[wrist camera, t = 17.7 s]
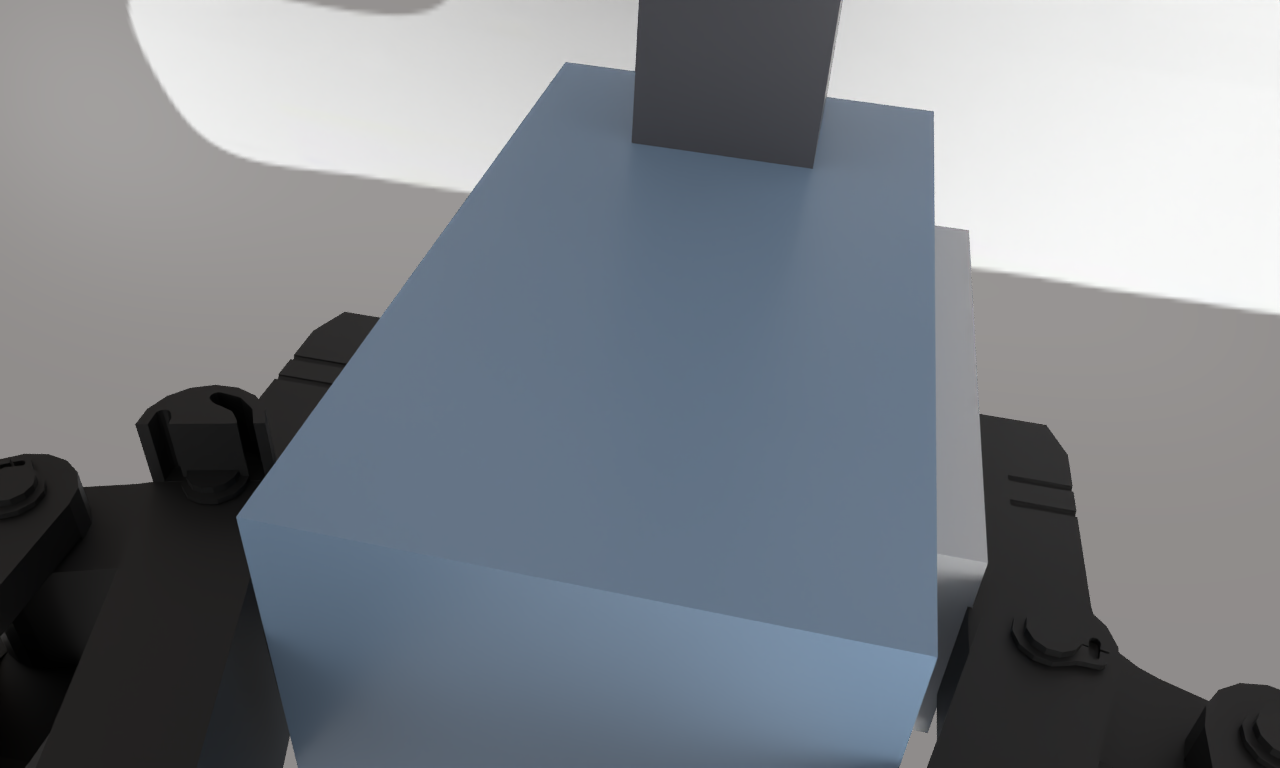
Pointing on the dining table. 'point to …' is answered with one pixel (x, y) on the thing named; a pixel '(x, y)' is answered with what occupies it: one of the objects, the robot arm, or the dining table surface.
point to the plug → (634, 437)
